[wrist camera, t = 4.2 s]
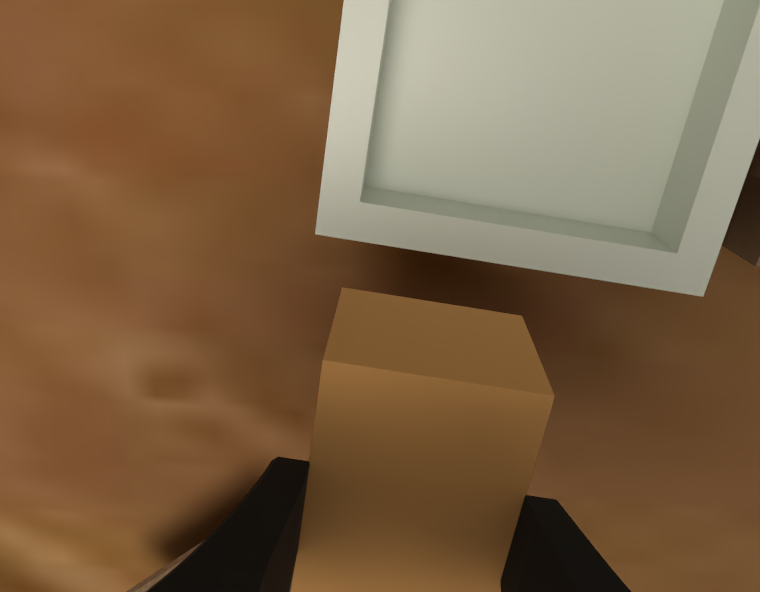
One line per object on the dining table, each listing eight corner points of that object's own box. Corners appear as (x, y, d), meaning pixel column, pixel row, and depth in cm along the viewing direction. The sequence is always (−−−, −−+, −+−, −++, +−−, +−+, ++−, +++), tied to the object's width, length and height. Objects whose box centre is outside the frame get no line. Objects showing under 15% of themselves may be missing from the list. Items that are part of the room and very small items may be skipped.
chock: (466, 530, 17) (481, 650, 13) (310, 506, 17) (286, 621, 13) (522, 315, 14) (554, 396, 11) (342, 286, 14) (323, 359, 11)
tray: (667, 266, 19) (703, 296, 17) (326, 210, 19) (314, 234, 17) (798, -132, 16) (867, -163, 13) (380, -204, 15) (374, -248, 13)
